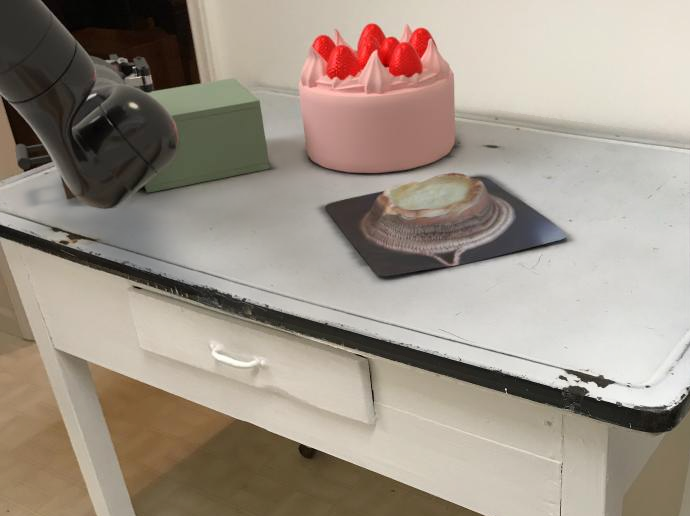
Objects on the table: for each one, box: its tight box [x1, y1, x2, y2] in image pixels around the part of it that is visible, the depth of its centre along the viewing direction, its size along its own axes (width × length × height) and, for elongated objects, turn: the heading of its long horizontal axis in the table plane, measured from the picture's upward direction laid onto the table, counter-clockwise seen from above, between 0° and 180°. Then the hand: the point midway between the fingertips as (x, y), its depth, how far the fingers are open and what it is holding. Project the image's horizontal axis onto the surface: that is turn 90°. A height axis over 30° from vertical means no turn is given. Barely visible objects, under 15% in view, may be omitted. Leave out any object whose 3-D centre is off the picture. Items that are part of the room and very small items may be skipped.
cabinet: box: [143, 77, 270, 194], centre depth 109 cm, size 16×13×9 cm
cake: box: [298, 22, 456, 174], centre depth 109 cm, size 20×20×14 cm
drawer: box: [14, 143, 78, 200], centre depth 106 cm, size 19×11×7 cm, turn 113°
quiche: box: [324, 172, 568, 277], centre depth 91 cm, size 21×20×4 cm
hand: (76, 69), depth 98 cm, fingers open, 8 cm apart
